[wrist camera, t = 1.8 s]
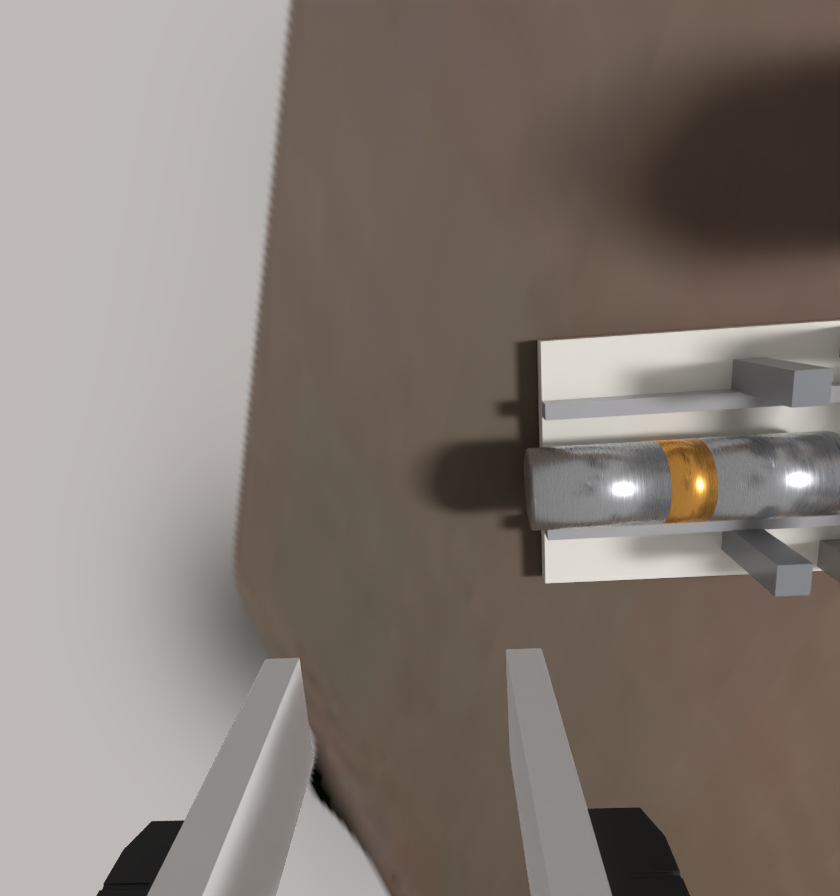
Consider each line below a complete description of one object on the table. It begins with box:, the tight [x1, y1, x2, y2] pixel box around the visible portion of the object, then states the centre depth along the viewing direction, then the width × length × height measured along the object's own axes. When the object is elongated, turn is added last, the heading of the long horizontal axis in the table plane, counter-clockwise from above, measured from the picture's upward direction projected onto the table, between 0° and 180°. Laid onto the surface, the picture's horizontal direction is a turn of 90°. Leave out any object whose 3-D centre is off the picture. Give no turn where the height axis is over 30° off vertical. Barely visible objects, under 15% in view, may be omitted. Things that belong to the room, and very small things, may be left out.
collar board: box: [537, 319, 840, 596], centre depth 26 cm, size 13×24×7 cm, turn 94°
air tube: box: [524, 430, 840, 531], centre depth 27 cm, size 14×4×4 cm, turn 94°
